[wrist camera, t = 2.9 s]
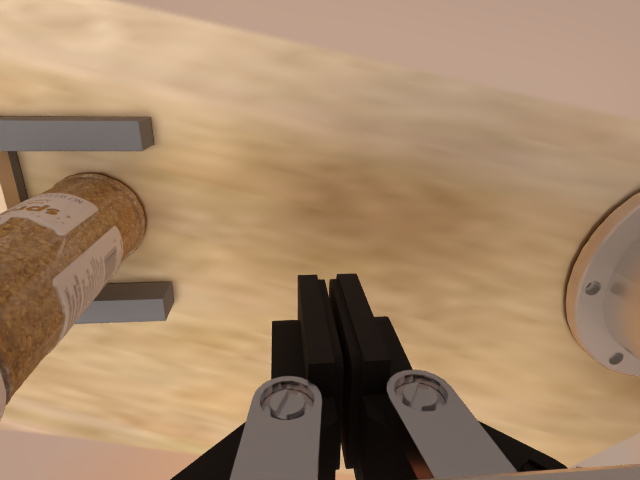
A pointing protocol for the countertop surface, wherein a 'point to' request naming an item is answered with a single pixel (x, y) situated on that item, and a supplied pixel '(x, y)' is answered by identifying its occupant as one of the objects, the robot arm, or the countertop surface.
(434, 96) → the countertop surface
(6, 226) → the sprinkles bottle
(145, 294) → the tray
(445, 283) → the countertop surface
